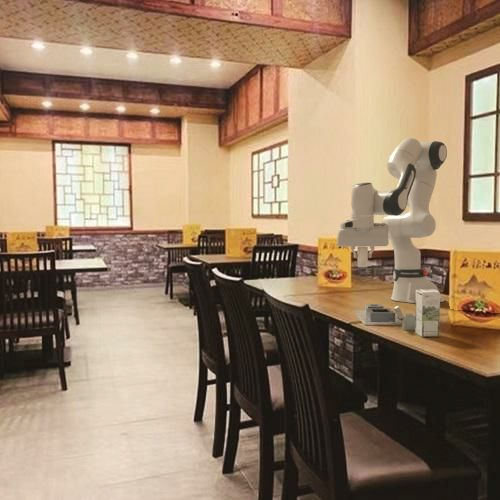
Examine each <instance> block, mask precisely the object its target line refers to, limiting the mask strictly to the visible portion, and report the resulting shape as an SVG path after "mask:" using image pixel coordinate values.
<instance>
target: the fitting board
mask: <svg viewBox="0 0 500 500" xmlns="http://www.w3.org/2000/svg"><path fill="white" fill-rule="evenodd" d="M364 306H365V307H364V309H359V310H358V309H357V310H354V314H355V315H356V316H357V318H359V320H360V322H362V323H363V325H364V326H402V320H401V319H399V318H398V316H396V312H395V310H392V309H391V308H387V307H386V308H385V307H384V305H382V303H365V304H364Z"/></svg>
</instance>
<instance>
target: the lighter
mask: <svg viewBox="0 0 500 500" xmlns="http://www.w3.org/2000/svg"><path fill="white" fill-rule="evenodd" d="M393 311H394V312H395V315H397V316H396V317H397V318H398V319H399V320H401V319H402V320H401V321H402V325H401V326H402V327H401V329H402V330H403V331H415V315H414V314H413V313H405V316H404V314H403V312H402V310H401V307H399V305H395V306H394V307H393Z"/></svg>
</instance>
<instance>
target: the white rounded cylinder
mask: <svg viewBox="0 0 500 500" xmlns="http://www.w3.org/2000/svg"><path fill="white" fill-rule="evenodd" d="M368 248H369V246H357V253H358V258H357V267H358V268H368V267H369V265H368V263H369V262H368V261H369V258H368V253H369V250H368Z"/></svg>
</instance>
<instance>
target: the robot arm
mask: <svg viewBox="0 0 500 500" xmlns="http://www.w3.org/2000/svg"><path fill="white" fill-rule="evenodd" d="M447 155H448V149H447V146H446V144H445V143H444V142H442V141H439V140H438V141H436V140H435V141H419V140H418V139H416V138H414V137H407V138H406V137H405V138H403V140H402V141H400V143H398V145H397V146H396V147H395V148H394V149H393V150H392V152H391V154H390V155H389V157H388V159H387V162H386V167H387V171H388V173H389V174H390V175H391V176H392V177H393V178H395V179H397V180H398V183H397V185H396V187H395V188H394V189H391V190H382V191H381V190H377V189H375V188H374V186H373V182H362V183H356V184H355V185H353V187H352V190H351V202H350V205H351V211H352V212H351V215H350V216H351V218H350V219H348V220H347V219H346V221H343V222H340V224H339V227H340V228H339V229H338V232H337V237H336V245H337V247H342V248H343V247H345V248H346V247H349V248H350V250H351V252H352V254H353V258H354V259H358V252H356V251H355V250H356V247H369V249H370V251H368V259H371V258H372V254H373V253H374V251H375V247H388V246H389V243H390V242H391V244H392V248H393V252H394V255H393V256H394V268H393V273H392V275H393V290H392V294H391V298H390V300H392V301H395V302H396V301H397V302H403V303H410V304H416V290H419V289H435V290H437V291H439V288H438V287H437V285H436V284H435V283H433V282H432V281H431V280H430V279H428V278H427V277H426V276H427V275H429V271H428V270H426V269H423V268H422V267H421V262H422V261H421V259H422V258H421V254H422V253H421V250H420V249H419V248H418V247H417V246H416V245H414V244H413V241H412V238H413V239H421V238H427V237H430V236H432V235H433V234H434V232H435V230H436V227H437V222H436V219H435V218H434V216H433V215H432V214H431V212H430V204H431V203H430V202H431V199H432V195H433V193H434V190H435V186H436V182H437V170H438V169H440V168H441V166H442V165H443V164H444V163H445V161H446V160H447ZM407 207H409V210H408V212H405V210H406V209H407ZM375 216H384V217H383V219H382V221H381V223H380V222H375ZM389 241H390V242H389ZM443 302H445V298H444V297H442V296H441V295H440V303H443Z"/></svg>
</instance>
